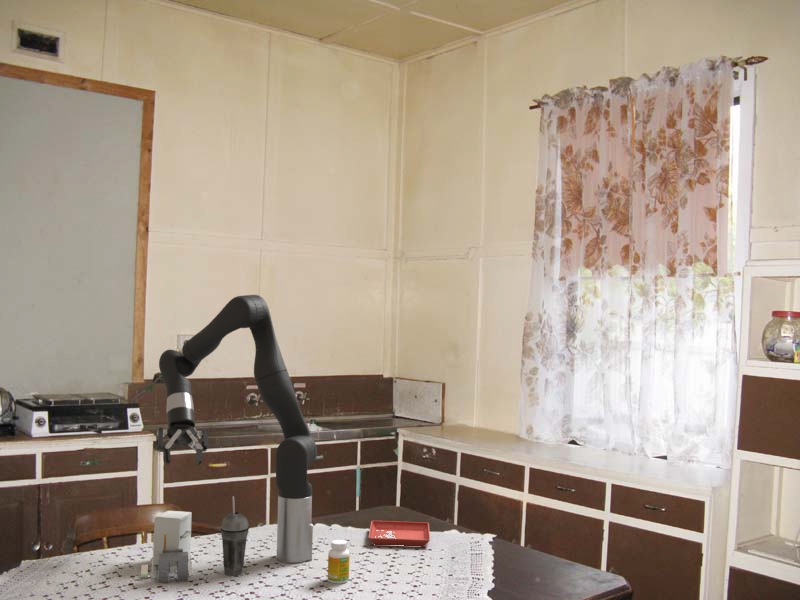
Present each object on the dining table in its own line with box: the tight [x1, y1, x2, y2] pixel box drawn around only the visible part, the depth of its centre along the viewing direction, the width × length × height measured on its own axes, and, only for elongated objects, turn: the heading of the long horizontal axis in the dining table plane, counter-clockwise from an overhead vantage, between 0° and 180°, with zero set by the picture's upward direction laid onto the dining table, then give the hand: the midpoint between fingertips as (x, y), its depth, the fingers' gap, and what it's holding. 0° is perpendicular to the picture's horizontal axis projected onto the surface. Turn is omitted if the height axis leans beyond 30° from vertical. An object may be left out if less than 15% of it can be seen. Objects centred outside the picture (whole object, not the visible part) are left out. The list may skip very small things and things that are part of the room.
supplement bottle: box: [327, 539, 351, 585], centre depth 195 cm, size 5×5×10 cm
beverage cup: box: [220, 495, 250, 577], centre depth 198 cm, size 7×7×20 cm
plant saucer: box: [368, 520, 431, 548], centre depth 232 cm, size 18×18×3 cm
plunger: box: [163, 534, 183, 574], centre depth 195 cm, size 5×10×8 cm, turn 18°
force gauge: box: [140, 552, 194, 584], centre depth 199 cm, size 13×20×6 cm, turn 17°
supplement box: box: [152, 510, 193, 566], centre depth 205 cm, size 7×7×13 cm
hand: (183, 463), depth 213 cm, fingers open, 8 cm apart
